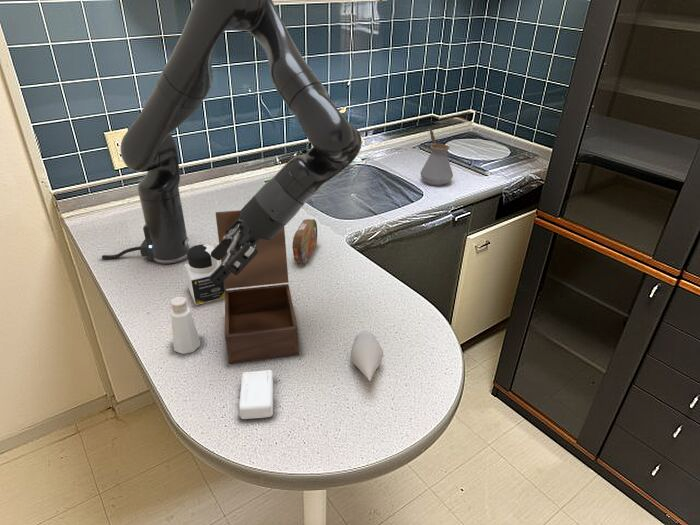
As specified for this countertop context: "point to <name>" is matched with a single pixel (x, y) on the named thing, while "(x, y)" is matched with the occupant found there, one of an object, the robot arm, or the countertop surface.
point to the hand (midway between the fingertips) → (214, 269)
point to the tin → (305, 241)
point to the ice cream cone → (366, 353)
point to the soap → (256, 394)
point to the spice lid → (257, 258)
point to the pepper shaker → (183, 327)
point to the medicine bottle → (203, 275)
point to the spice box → (260, 324)
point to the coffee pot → (437, 165)
